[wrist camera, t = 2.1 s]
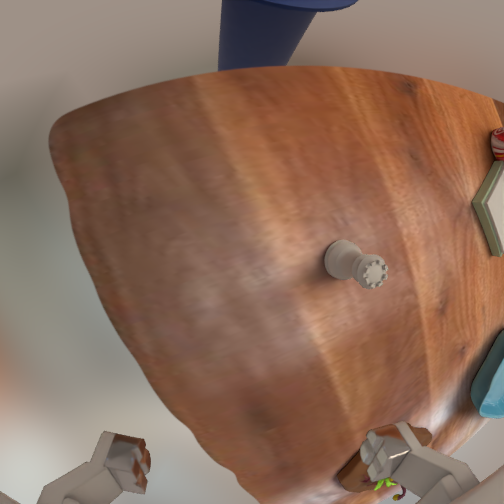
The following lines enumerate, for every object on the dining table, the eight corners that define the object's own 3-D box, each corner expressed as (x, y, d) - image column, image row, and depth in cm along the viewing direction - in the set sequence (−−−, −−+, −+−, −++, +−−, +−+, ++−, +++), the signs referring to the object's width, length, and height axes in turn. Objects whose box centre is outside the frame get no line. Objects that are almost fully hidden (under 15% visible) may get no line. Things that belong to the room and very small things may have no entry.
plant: (319, 482, 38) (336, 523, 27) (392, 416, 37) (425, 455, 26) (375, 486, 42) (394, 517, 31) (435, 430, 41) (462, 458, 30)
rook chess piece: (363, 250, 31) (403, 263, 23) (345, 283, 31) (381, 305, 24) (334, 232, 30) (371, 240, 22) (315, 267, 31) (347, 286, 23)
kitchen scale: (471, 202, 33) (485, 202, 30) (494, 161, 33) (506, 160, 30) (492, 256, 35) (504, 259, 32) (513, 213, 35) (524, 214, 32)
